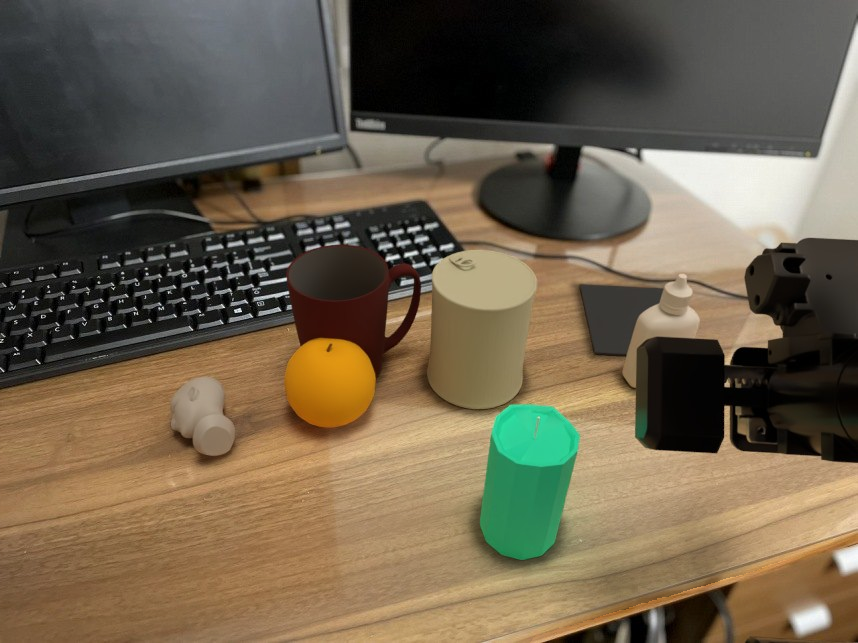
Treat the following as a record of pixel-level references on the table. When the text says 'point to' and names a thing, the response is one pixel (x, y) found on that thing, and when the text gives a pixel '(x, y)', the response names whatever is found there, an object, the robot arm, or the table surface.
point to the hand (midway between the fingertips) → (742, 401)
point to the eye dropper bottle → (663, 322)
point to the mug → (348, 298)
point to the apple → (329, 382)
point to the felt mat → (615, 314)
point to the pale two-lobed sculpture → (203, 416)
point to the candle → (527, 479)
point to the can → (479, 327)
